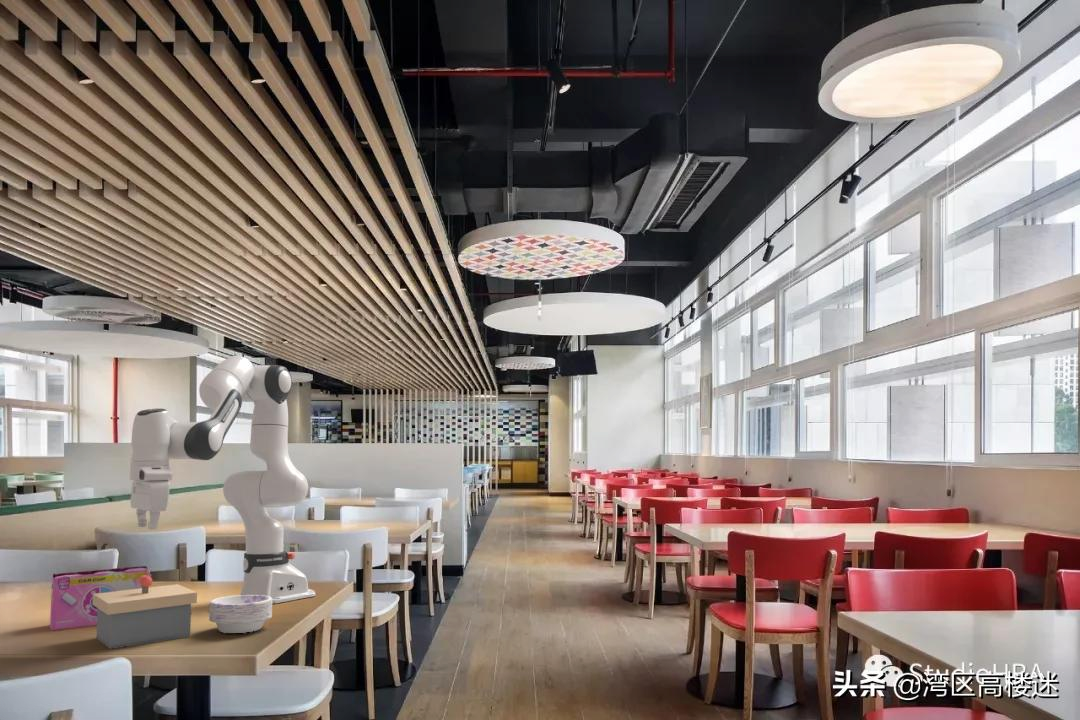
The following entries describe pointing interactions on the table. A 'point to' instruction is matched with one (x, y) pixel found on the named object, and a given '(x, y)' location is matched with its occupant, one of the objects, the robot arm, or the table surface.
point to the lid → (144, 598)
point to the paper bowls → (240, 612)
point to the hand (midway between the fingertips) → (147, 528)
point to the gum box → (87, 593)
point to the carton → (143, 626)
